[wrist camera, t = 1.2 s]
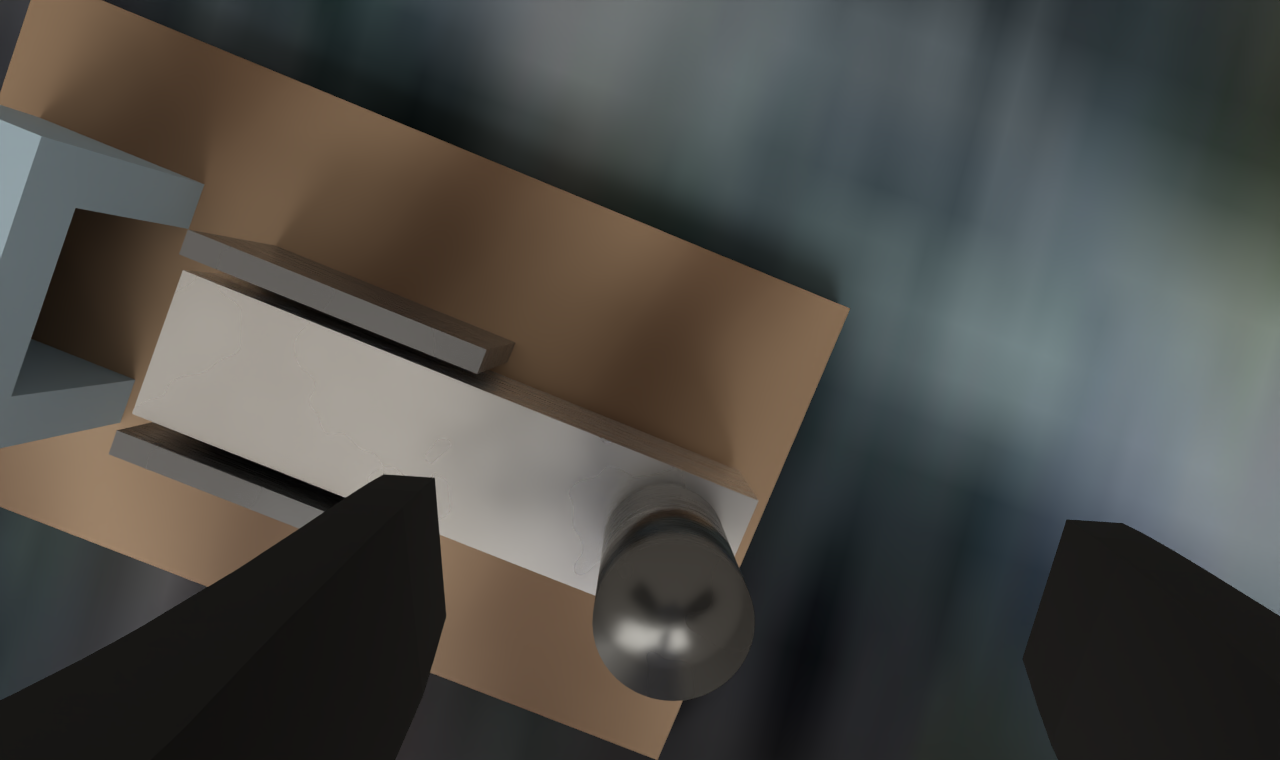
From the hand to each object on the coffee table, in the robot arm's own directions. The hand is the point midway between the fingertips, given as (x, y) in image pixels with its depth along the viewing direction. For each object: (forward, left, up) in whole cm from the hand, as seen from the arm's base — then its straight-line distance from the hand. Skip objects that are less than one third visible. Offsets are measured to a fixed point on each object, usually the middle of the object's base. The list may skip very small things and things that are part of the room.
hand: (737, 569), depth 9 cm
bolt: (+5, +2, -9) cm, 11 cm away
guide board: (+8, +2, -11) cm, 13 cm away
